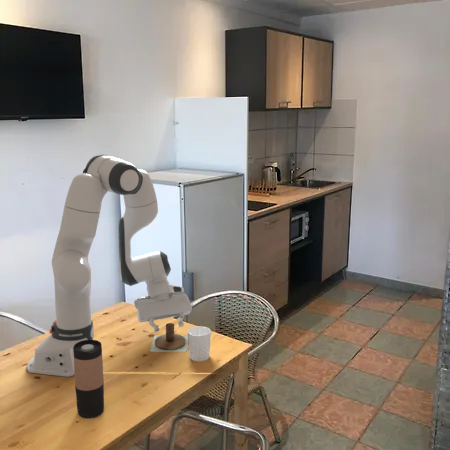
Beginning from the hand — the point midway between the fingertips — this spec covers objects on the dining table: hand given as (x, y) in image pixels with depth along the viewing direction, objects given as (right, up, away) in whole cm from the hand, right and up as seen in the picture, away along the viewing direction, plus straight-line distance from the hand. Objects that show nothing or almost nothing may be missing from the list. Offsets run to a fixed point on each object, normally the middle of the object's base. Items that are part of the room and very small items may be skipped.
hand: (169, 328), depth 181 cm
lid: (0, -5, 0) cm, 5 cm away
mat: (0, -6, 0) cm, 6 cm away
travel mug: (-17, -15, -41) cm, 47 cm away
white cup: (+11, -8, -9) cm, 17 cm away
